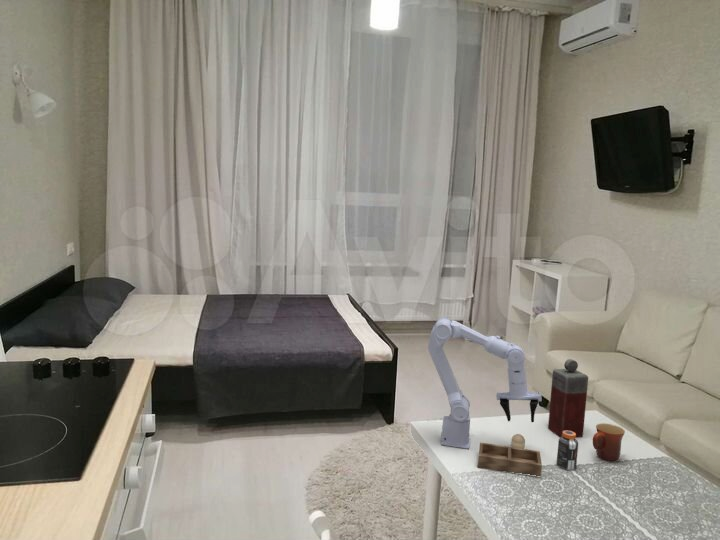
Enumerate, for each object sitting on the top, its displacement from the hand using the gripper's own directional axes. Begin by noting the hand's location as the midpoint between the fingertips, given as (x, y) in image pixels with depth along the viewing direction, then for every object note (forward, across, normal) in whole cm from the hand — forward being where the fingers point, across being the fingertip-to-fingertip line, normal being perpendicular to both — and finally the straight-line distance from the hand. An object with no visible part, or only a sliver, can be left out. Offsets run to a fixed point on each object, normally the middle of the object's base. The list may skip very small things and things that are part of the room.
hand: (520, 420), depth 179 cm
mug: (+15, -25, -8) cm, 30 cm away
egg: (+11, +2, 0) cm, 11 cm away
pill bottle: (+13, -14, +4) cm, 19 cm away
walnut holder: (+10, +3, +13) cm, 16 cm away
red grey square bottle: (+14, -12, -25) cm, 30 cm away
